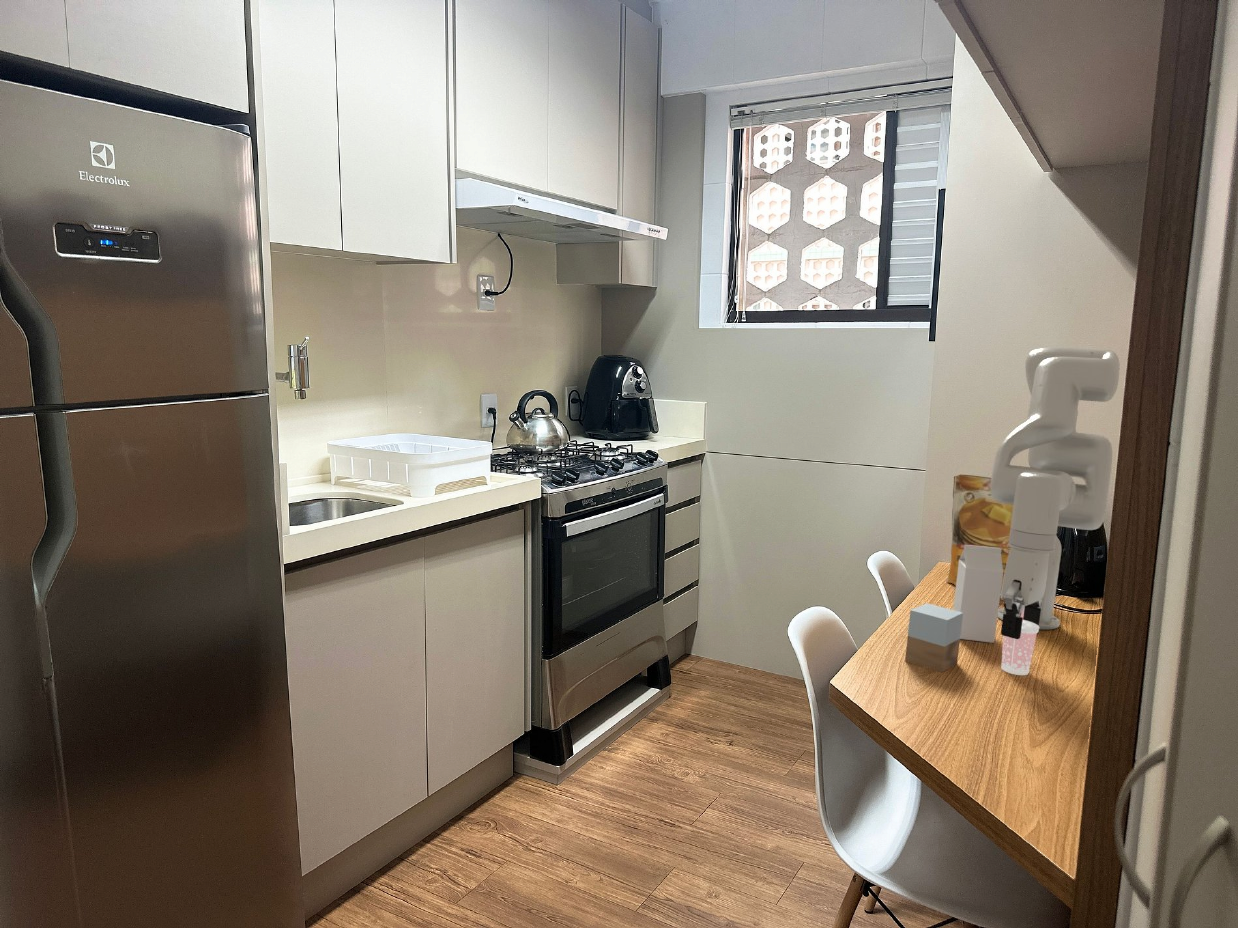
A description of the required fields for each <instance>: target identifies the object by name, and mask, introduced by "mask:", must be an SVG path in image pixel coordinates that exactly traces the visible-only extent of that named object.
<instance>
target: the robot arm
mask: <svg viewBox="0 0 1238 928" xmlns="http://www.w3.org/2000/svg"><path fill="white" fill-rule="evenodd" d="M1120 365H1121V364H1120V359H1119V356H1118V355H1117V353H1116V352H1115V351H1112V350H1106V349H1090V348H1074V347H1073V348H1072V347H1040V348H1036V349H1033V350H1031V351H1030V352H1029V353H1028V354H1027V356H1026V359H1025V378H1026V382H1027V386H1028V389H1029V393H1030V395H1031V396H1030V401H1029V408H1028V411H1027V412H1028V413H1027V420H1026V421H1025V422H1023V423H1021V424H1020V425H1019V426H1018V427H1016V428H1014V430H1012V431H1010V433H1008V435H1007V436H1005V438H1003V440H1002V442H1001V443H1000V445H999V446H998V449H997V450H996V453H995V457H994V463H993V467H992V472H991V477H990V478H991V485H990V490H991V495H992V497H993V498H994V499H995V500H996V501H997V502H1000V503H1003V504H1009V505H1013V513H1012V520H1011V528H1010V536H1009V543H1008V546H1009V547H1011V549H1010V552H1009V555H1008V559H1007V563H1006V568H1005V573H1004V578H1003V584H1002V589H1001V595H1000V600H1002V601H1004V603H1003V607H999V609H998V617H997V618H998V619H1000V620H1002V621H1001V629H1000V635H1001V636H1002V637H1003V636H1007V637H1010V638H1014V639H1019V638H1020V636H1021V628H1022V621H1023V620H1026V621H1030V622H1033V623H1035V624H1037V625H1038V626H1039V630H1054V629H1055V630H1056V629H1057V628H1059V627H1060V619H1059V618H1057V617H1056V616H1054V615H1053V614H1054V607H1055V600H1056V593H1057V586H1058V580H1059V579H1058V578H1059V571H1060V563H1061V556H1062V544H1061V541H1060V539H1059V538H1058V536H1057V534H1058V527H1062V528H1063V527H1065V528H1071V529H1077V530H1083V531H1085V530H1086V531H1087V530H1088V531H1093V530H1097V529H1100V527H1101V526H1102V525H1103V523H1104V519H1105V517H1106V512H1107V505H1108V499H1109V498H1108V497H1109V487H1110V482H1111V481H1110V480H1111V473H1112V464H1113V446H1112V443H1111V441H1110V440H1109V439H1108V438H1107V437H1105V436H1104V435H1100V434H1095V433H1087V432H1086V433H1083V432H1077V420H1078V415H1079V414H1078V413H1079V411H1078V408H1079V401H1085V402H1086V401H1088V402H1098V403H1099V402H1100V403H1101V402H1102V403H1103V402H1104V403H1105V402H1109V401H1110V400H1112V399H1113V397H1114V396H1115V394H1116V392H1117V390H1118V385H1119V381H1120V370H1121V369H1120ZM1025 450H1028V452H1027V453H1028V456H1027V458H1028V460H1027V461H1028V465H1029V466H1023V465H1022V466H1021V465H1011V461H1012V459H1013V458H1014V457H1015V456H1017V455H1018V454H1019V453H1021V452H1023V451H1025ZM1073 478H1079V479H1082V480H1083V481H1084V484H1081V483H1076V482H1075V481H1074V479H1073ZM1024 607H1025V608H1024ZM1023 609H1024V616H1023V617H1021V615H1022V612H1023Z"/></svg>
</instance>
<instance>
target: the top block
mask: <svg viewBox="0 0 1238 928" xmlns="http://www.w3.org/2000/svg"><path fill="white" fill-rule="evenodd" d="M962 619H963V613H962V612H958V611H955V610H953V609H950V608H946V607H943V606H939V605H935V604H932V603H928V602H927V603H925V604H921V605H920V606H917V607H915V608H912V609H910V613H909V619H908V630H907V637H908V636H910V637H913V638H917V639H920V640H923V641H927V642H930V643H934V644H937V645H940V646H944V647H945V646H947V645H949V644H951V643H953V642H954V641H956V640H958V639H960V635H961V627H962ZM960 640H961V639H960Z"/></svg>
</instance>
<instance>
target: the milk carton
mask: <svg viewBox="0 0 1238 928" xmlns="http://www.w3.org/2000/svg"><path fill="white" fill-rule="evenodd" d="M1002 577H1003V565H1002V558H1001V548H994V547H983V546H973V545H964V551H963V553H962V555H961V557H960V559H959V565H958V573H957V582H956V586H955V592H954V597H953V607H952V610H955V611H958V612H962V613H963V619H962V627H961V635H960V640H967V641H976V642H984V643H991V644H992V643H993V644H994V643H995V639H996V630H997V624H998V623H997V622H998V618H999V617H998V609H999V608H1000V607H999V606H1000V600H1001V597H1000V596H1001V595H1000V593H1001V585H1002Z"/></svg>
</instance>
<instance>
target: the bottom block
mask: <svg viewBox="0 0 1238 928" xmlns="http://www.w3.org/2000/svg"><path fill="white" fill-rule="evenodd" d="M906 638H907V639H906V646H905V647H906V648H905V649H906V650H905V655H904V656H905V659H904V662H907V663H910V664H914V665H917V666H920V667H923V668H926V669H928V670H929V669H930V670H932V671H936V672H937V673H943V672H945V671H947V670H949V669H950V668H951V667H953V666H955V665H957V664H958V659H959V658H958V657H959V651H960V644H961V643H960V642H961V639H958V640H956V641H954V642H953V643H951V644H949V645H947V646H945V647H944V646H940V645H937V644H934V643H930V642H927V641H923V640H920V639H917V638H913V637H910V636H908V635H907V637H906Z"/></svg>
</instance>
